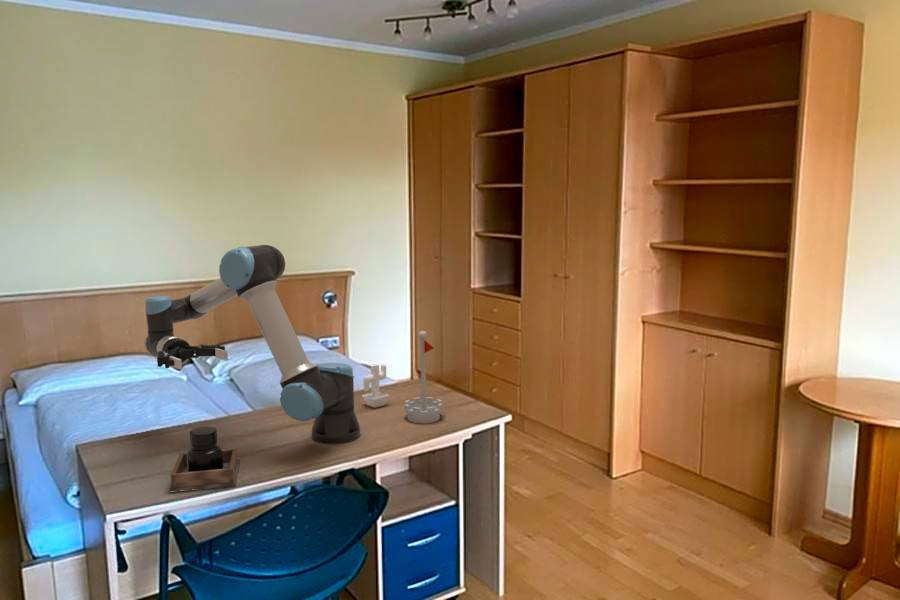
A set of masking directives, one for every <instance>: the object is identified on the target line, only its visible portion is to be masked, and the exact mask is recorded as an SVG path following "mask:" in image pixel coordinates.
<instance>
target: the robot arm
mask: <svg viewBox="0 0 900 600" xmlns="http://www.w3.org/2000/svg"><path fill="white" fill-rule="evenodd" d="M285 269H286V260H285V256H284V254H283V253H282V252H281V251H280V250H279V249H278V248H277V247H275V246H272V245H269V244H260V245H253V246H252V245H250V246H239V247H236V248H232V249H230V250H228V251H227V252H226V253H224V255H223V256H222V257H221V259H220V264H219V268H218V271H219V272H218V273H219V276H220V277H219V278H217V279H216V280H214V281H212V282H210V283H208V284H207V285H205V286H203V287H201V288H200V289H197V290H195V291H194V292H192V293H190V294H189V295H186V296H185V297H181V298H177V299H172V298H171V297H170V296H168V295H156V296H150V297H147V298H146V299H145V315H146V323H147V324H146V325H147V336H146V337H145V340H144V348H145V350H146V351H147V353H149V354H151V355H152V356H154V357H156V362H157V363H156V364H157V367H159V368H160V367H163V365H164V368H165V369H170V367H172V368H175V369H177V370H182V369H183V364H182V363H184V362H186V361H187V360H189V359H198V358H199V357H215V358H216V359H219V360H223V361H228V360H229V355H228V350H226V346H224V345H220V344H219V345H207V344H198V345H190V344H189V342H188V341H186V340H185V339H182V338H179V337H176V336H174V324H177V323H181V322H186V321H190V320H196V319H199V318H201V317H204V316H205V315H206V314H207V312H208V311H210V310H212V309H214V308H216V307H218V306H219V305H222V304H224V303H226V302H228V301H229V300H231V299H233V298H235V297H237V296H238V298H239V299H240V300H242V301H244V302H246V303H247V304H248V306H249V309H250V310H251V313H252V315H253V317H254V319H255V321H256V323H257V325H258V327H259V329H260V332H261V334H262V336H263V338H264V340H265V342H266V345H267V346H268V349H269V351H270V353H271V355H272V357H273V359H274V361H275V363H276V366H277V368H278V370H279V371H280V374H281V378H280V381H279V384H280V387H281V389H282V390H281V392H280V398H279V402H280V406H281V408H282V410H283V412H284V413H285V414H286V415H287V416H288V417H289V418H291V419H293V420H296V421H299V422H306V421H307V422H308V421H310V420H313V419H314V421H313V424H312V427H311V439H312V441H314V442H316V443H319V444H324V445H325V444H326V445H337V444H345V443H350V442H353V441H355V440H357V439H359V438H360V436H361V425H360V422H359V419H358V418H357V417H358V416H357V415H356V412H355V395H354V394H355V390H354V377H355V376H354V372H353V371H354V370H353V367H352V366H351V365H350V364H346V363H340V362H339V363H338V362H324V363H322V362H321V363H316V364H315V363H311V362H310V360H309V359H308V356H307V354H306V353H305V349H304V348H303V347H302V344H301V342H300V340H299V337H298V335H297V334H296V331H295V330H294V328H293V325H292V322H291V320H290V318H289V317H288V315H287V313H286V311H285V308H284V307H283V304H282V302H281V300H280V298H279V296H278V294H277V291H276V286H277V283H278V282H277V280H278V279H280V278H281V277H282V275H284V272H285Z"/></svg>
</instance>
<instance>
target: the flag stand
mask: <svg viewBox="0 0 900 600" xmlns="http://www.w3.org/2000/svg"><path fill="white" fill-rule="evenodd" d="M427 337H428V332H426V331H425V330H421V331H419V333H418V338H419V340H420V383H421V384H420V395H421V396H417V397H413V398H412V401H411V400H410V399H407V400H405V401H404V407H403V408H404V409H403V411H404V412H405V413H406V414H407V420H408V421H409V422H411V423H415V424H416V423H417V424H430V423H434V422H437V421H439V420H440V419H441V412H442V411H443V409H444V405H443V400H442V399H440V398H438V399H436V400H434V398H435V397H432V396H426V395H427V394H426V393H427V388H426V387H427V386H426V385H427V384H426V375H427V374H426V373H427V372H426V353H427V352H429V351H431V350H434V349H435V348H434V347H433V346H432V344H430V343H429V342H427V341H426V339H427Z"/></svg>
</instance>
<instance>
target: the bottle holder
mask: <svg viewBox="0 0 900 600" xmlns="http://www.w3.org/2000/svg"><path fill="white" fill-rule="evenodd" d="M222 455H223V469H216V470H205V471H195V472H188V467H187V452H183V453H179V455H178V458H177V460H176V462H175V464H174V467H173V470H172V472H171V474H170V481H171V484H170V487H169V492H170V491H180V490H192V489H205V490H211V489H212V488H215V489H221V488H222V489H224V488H232V487H233V488H234V487H236V485H237V480H238V476H237V475H238V474H239V469H240V465H239V464H240V463H241V461H240V460H241V459H240V458H239V459H238V449H237V448H229V449H228V448H227V449H225V448H224V449H222ZM209 488H210V489H209ZM212 490H213V489H212Z"/></svg>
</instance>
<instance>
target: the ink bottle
mask: <svg viewBox="0 0 900 600" xmlns="http://www.w3.org/2000/svg"><path fill="white" fill-rule="evenodd" d="M189 443H190V444H189V445H190V448H188V450H187V451H186V453H187V467H188V472H195V471H205V470H216V469H223V455H222V450H223V448H222V446H221V445H219V444H218V431H217V428H216V427H214V426H209V425H208V426H206V425H205V426H199V427H195V428H193V429H191V430H190V431H189Z"/></svg>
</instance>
